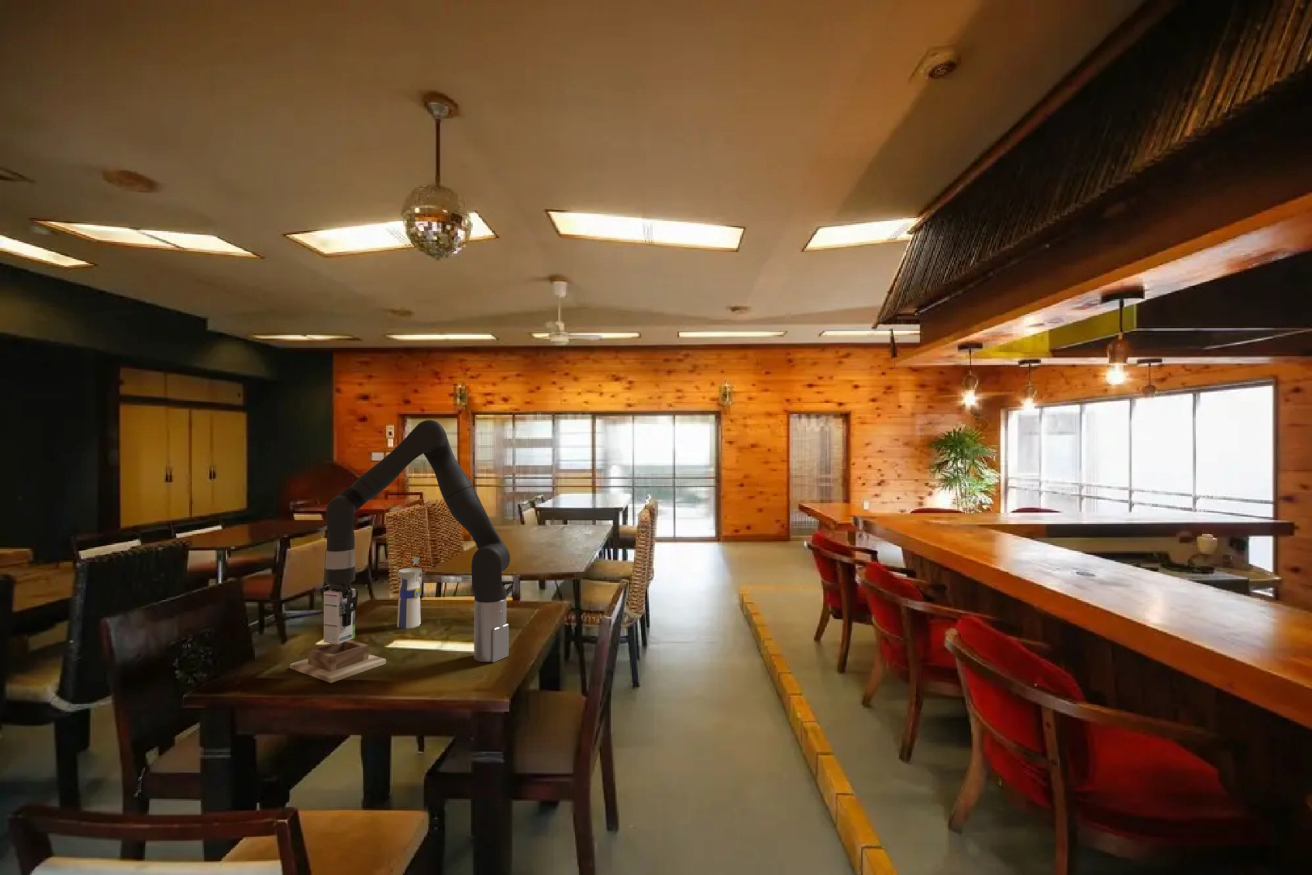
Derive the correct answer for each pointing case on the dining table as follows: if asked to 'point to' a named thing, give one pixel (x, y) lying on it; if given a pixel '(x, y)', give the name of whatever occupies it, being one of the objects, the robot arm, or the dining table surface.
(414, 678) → the dining table surface
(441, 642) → the dining table surface
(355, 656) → the collar board
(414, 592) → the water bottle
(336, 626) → the syrup box
